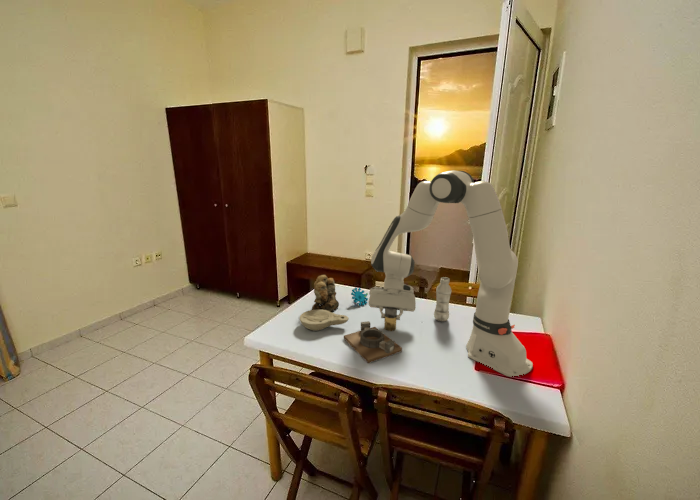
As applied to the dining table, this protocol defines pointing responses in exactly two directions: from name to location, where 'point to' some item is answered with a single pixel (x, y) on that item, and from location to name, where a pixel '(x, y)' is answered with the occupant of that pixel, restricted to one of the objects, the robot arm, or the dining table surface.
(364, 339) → the shaft seat
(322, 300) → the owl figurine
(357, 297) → the teal virus model
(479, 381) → the dining table surface
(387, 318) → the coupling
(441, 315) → the plastic bottle
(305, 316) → the oil lamp
